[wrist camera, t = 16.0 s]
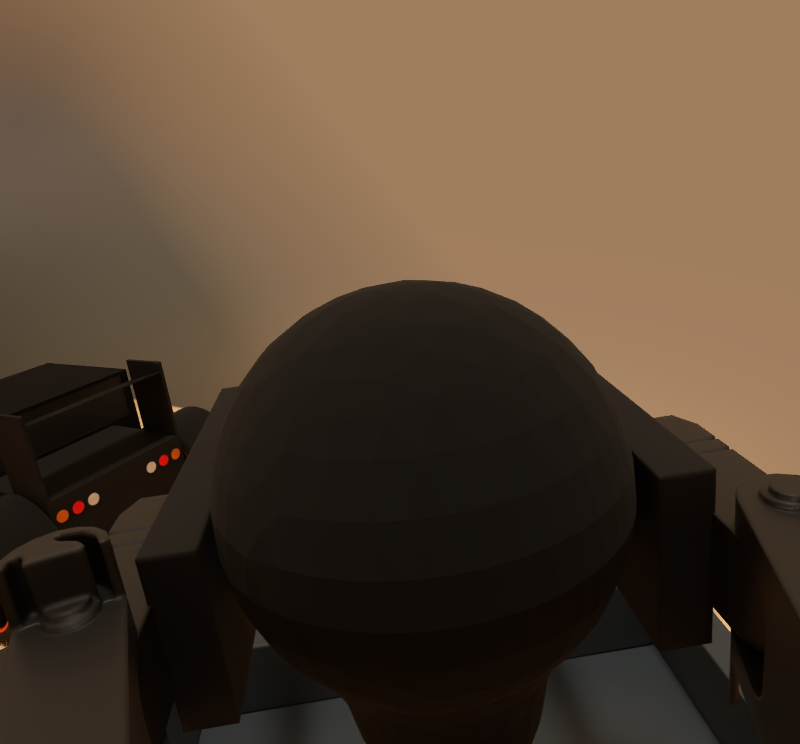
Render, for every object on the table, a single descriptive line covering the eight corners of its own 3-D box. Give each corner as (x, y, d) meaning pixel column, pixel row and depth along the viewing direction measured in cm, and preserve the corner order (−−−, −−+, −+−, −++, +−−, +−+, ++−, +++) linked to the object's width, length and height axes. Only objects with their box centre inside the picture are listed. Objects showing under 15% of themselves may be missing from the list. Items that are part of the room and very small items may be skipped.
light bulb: (631, 726, 14) (620, 232, 11) (661, 1108, 8) (655, 336, 5) (360, 696, 15) (283, 262, 12) (240, 1000, 10) (50, 364, 7)
